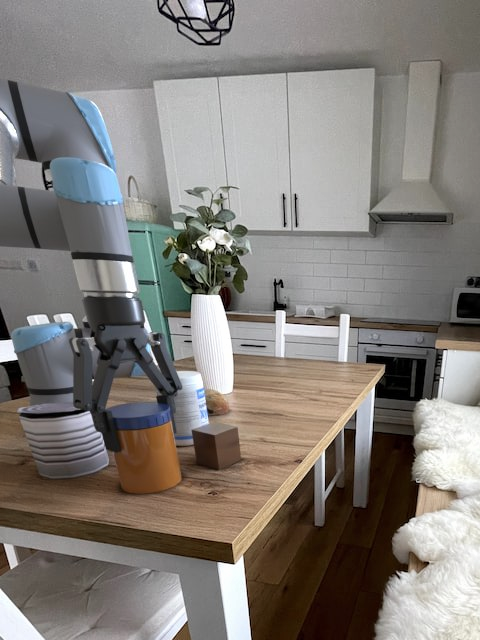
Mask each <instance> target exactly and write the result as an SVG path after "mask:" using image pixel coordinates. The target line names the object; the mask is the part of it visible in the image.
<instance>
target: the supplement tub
mask: <svg viewBox="0 0 480 640" xmlns="http://www.w3.org/2000/svg"><path fill="white" fill-rule="evenodd" d="M176 372H177V374H178V376H179V379H180V381H181V384H182V390H178V391H177V392H178V395H177V396H176V397H174V402H175V408H176V413H174V420H175V425H176V431H177V433H176V434H174V438H175V443H176V447H177V446H179V447H186V446H194V443H193V437H192V431H191V430H192V429H195V428H198V427H201V426H204V425H207V424H210V422H209V416H208V414H207V407H206V400H205V393H204V390H205V388H204V382H203V378H202V375H201V372H199V371H194V370H193V371H192V370H176ZM154 389H155V394H156V396H158V395H161V396H162V394H161V393H160V392H159V391H158V390H157V388H156V387H155V386H154Z"/></svg>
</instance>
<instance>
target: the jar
mask: <svg viewBox="0 0 480 640" xmlns="http://www.w3.org/2000/svg"><path fill="white" fill-rule="evenodd" d="M116 432H117V436H118V440H119V444H120V448H121V451H120V452H117V453H116V452H113V451H111V452H112V456H113V459H114V463H115V467H116V472H117V475H118V479H119V483H120V487H121V489H122V490H123V491H124V492H126V493H130V494H138V495H143V494H144V495H145V494H154V493H158V492H162V491H166V490H168V489H171V488H173V487H175V486H176V485H179V483H180V482H181V481H182V479H183V476H182V471H181V465H180V460H179V455H178V450H177V445H176V443H175V438H174V433H173V427H172V422H171V420H170V421H168V422H166V423H164V424H161V425H158V426H154V427H149V428H142V429H130V430H122V429H116Z"/></svg>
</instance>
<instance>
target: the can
mask: <svg viewBox="0 0 480 640" xmlns="http://www.w3.org/2000/svg"><path fill="white" fill-rule="evenodd" d="M15 413H19V415H18V417H19V421H20V423H21V427H22V430H23V432H24V435H25V437H26V440H27V444H28V446H29V449H30V452H31V454H32V457H33V460H34V463H35V466H36V469H37V472H38V474H39V476H42V477H44V478H48V479H50V480H56V479H57V480H58V479H73V478H79V477H82V476H86V475H90V474H95V473H96V472H99V471H100V470H102V469H104V468H106V467H107V466H109V461H110V458H109V454H108V450H106V448H105V444H104V440H103V436H102V433H101V432H97V431H96V429H95V427H94V423H93V420H92V416H91V413H90V411H86V410H82V409H78V408H75V407H74V406H73V402H66V403H50V404H40V405H34V406H30V405H29V406H23V407H19V408H18V409H17V410H16V411H15Z"/></svg>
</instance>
